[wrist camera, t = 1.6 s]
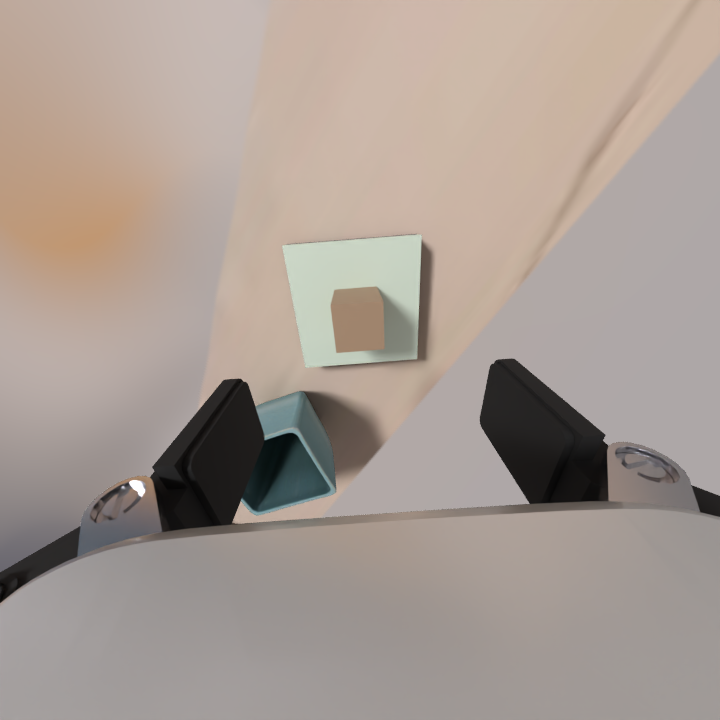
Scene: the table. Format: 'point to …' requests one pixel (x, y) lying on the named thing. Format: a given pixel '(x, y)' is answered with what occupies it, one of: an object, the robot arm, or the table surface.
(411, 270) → the lid
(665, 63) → the table surface
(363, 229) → the table surface
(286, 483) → the flower pot
